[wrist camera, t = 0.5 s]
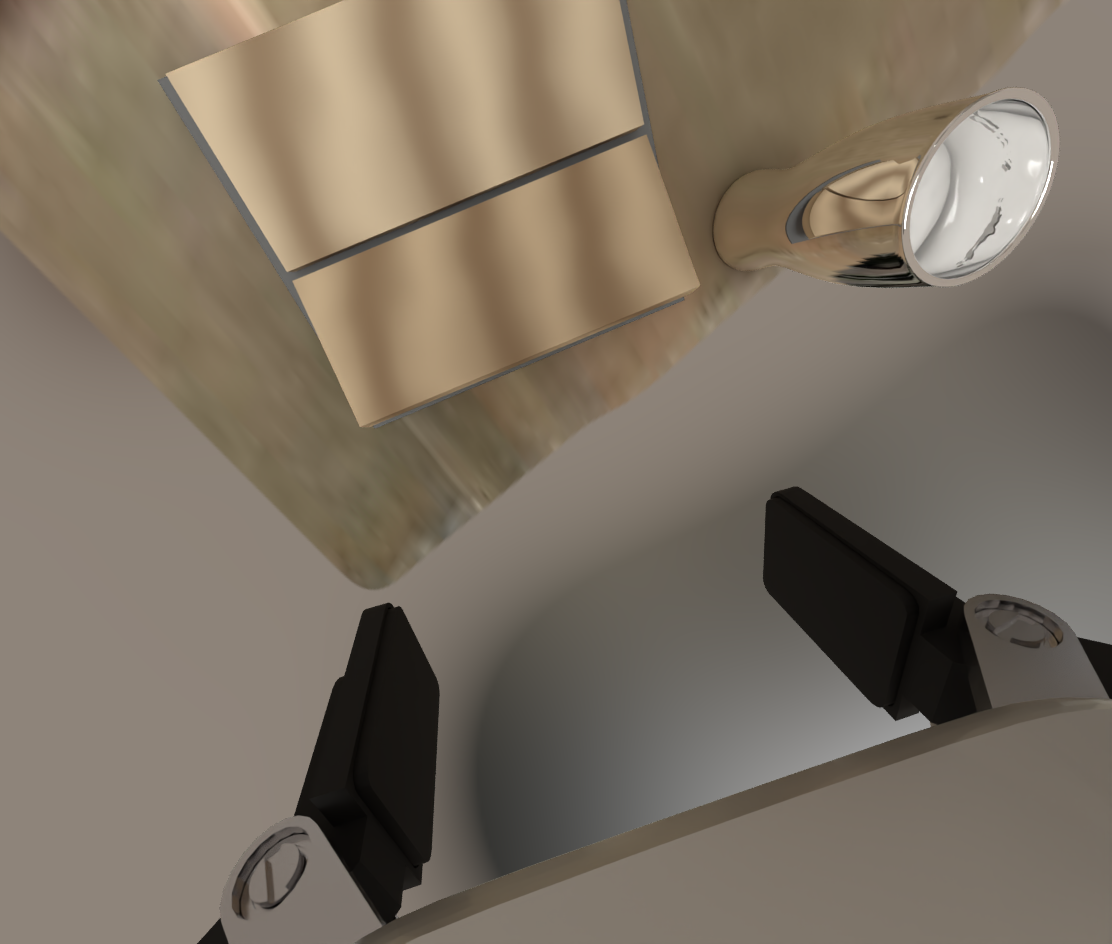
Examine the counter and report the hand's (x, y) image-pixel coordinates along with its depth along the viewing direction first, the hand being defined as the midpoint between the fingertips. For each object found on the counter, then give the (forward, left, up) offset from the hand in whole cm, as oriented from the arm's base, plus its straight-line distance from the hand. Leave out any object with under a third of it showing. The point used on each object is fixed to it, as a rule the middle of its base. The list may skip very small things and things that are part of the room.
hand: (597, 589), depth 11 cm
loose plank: (-2, -5, -21) cm, 22 cm away
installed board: (-1, -15, -23) cm, 28 cm away
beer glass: (-20, -3, -24) cm, 31 cm away
